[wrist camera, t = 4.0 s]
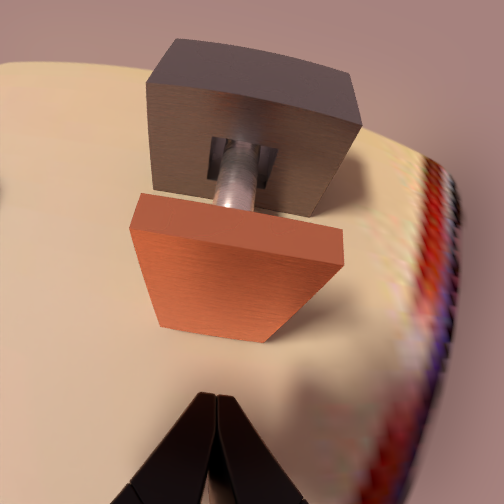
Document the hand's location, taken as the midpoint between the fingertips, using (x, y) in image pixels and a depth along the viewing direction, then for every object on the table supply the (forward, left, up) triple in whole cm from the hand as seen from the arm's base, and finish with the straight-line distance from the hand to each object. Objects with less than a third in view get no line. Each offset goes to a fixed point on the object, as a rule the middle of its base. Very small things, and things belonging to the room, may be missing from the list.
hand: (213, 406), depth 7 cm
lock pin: (+9, -4, -7) cm, 12 cm away
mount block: (+13, -5, -8) cm, 17 cm away
